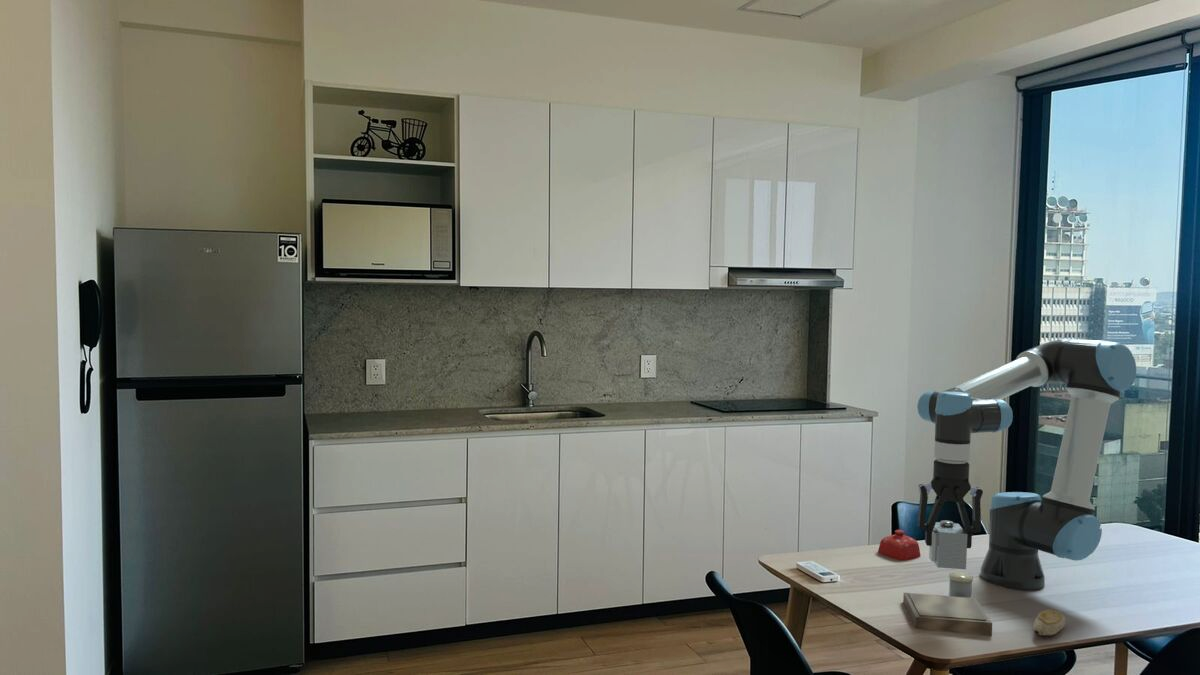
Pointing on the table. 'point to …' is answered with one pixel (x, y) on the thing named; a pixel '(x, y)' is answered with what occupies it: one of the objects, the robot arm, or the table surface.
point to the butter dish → (899, 547)
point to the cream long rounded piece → (1048, 622)
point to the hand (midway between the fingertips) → (947, 560)
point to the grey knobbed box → (950, 545)
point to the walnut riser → (947, 614)
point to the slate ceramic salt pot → (960, 584)
